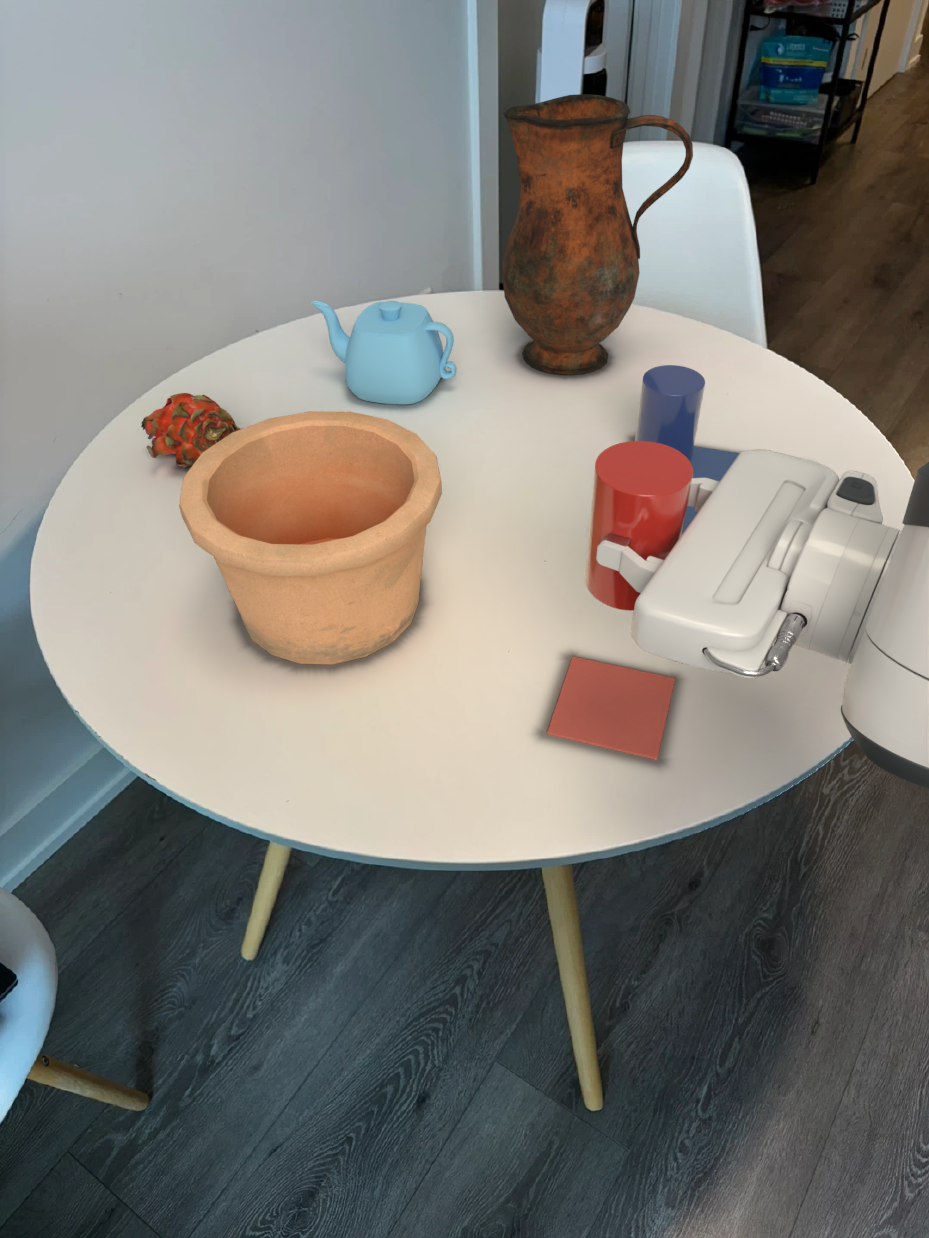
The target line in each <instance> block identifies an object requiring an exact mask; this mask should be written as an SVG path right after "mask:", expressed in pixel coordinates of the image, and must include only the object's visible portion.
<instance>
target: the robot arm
mask: <svg viewBox="0 0 929 1238" xmlns="http://www.w3.org/2000/svg"><path fill="white" fill-rule="evenodd" d="M739 453H740V454H739V455H738V456H737V458H736V459H735V461H734V462H733V463H732V465H731V466H730V468H729V469H728V470H727V472H726V473H725V475H724V476H723V478H722V479H721V480H720V482H719V481H716V480H712V479H709V478H706V477H705V478H692V483H691V489H690V495H689V501H688V506H692V507H696V508H695V511H696V512H698V513H697V514H696V516H695V517H694V519H693V520H692V521H691V523H690V524H689V526H688V527H687V529H686V530H685V531H684V533H683V534H682V536H681V537H680V538H679V540H678V541H677V543H676V544H675V546H674V547H673V548H672V550H671V551H670V553H669V554H668V556H667V557H666V558H665V560H662V559H659V558H656V557H653V556H648V558H647V559H646V560H644V559H643V558H642V557H640V556H639V555H638V554H637V553H635V552H634V551H633V550H632V549H631V548H630V547H631V539H630V538H627V537H623V536H618V535H617V534H614V533H609V534H607V535H606V537H605V538H604V539H603V540H602V542H601V543H600V544H599V545H598V547H597V556H596V559H597V562H598V563H599V564H600V565H603V566H605V567H608V568H611V569H614V570H617V571H619V572H620V574H621V575H622V576H623V577H624V578H625V579H626V580H627V581H628V583H629V584H630V585H631V586H632V587H633V588H634V589H635V590H636V591H637V592H639V593H641V594H640V595H639V597H638V598H637V600H636V603H635V607H634V611H633V612H632V619H631V621H632V622H631V628H630V636H631V638H632V639H633V641H634V643H636V645H637V646H638V647H639V649H641V650H642V651H644V652H646V653H648V654H652V655H653V656H657V657H660V658H663V659H666V660H670V661H672V662H677V663H679V664H683V665H686V666H691V667H695V668H699V669H701V670H702V669H703V670H706V671H707V670H708V671H712V672H716V673H717V672H718V673H724V674H733V675H735V676H738V677H740V678H745V679H750V680H751V679H755V678H758V677H762V676H765V675H768V674H770V673H771V672H779V671H780V670H781V669H782V668H783V667H784V666H785V664H786V663H787V661H788V659H789V654H790V651H791V649H792V648H793V646H794V645H795V646H797V647H800V648H804V649H806V650H809V651H812V652H815V653H818V654H820V655H822V656H826V657H829V658H832V659H834V660H837V661H839V662H843V663H846V664H848V665H850V667H849V669H848V671H847V674H846V677H845V681H844V685H843V692H842V702H841V706H840V713H841V717H842V719H843V722H844V725H845V726H846V729H847V731H848V732H849V735H850V736H851V738H852V739H853V741H854V743H855V744H856V746H857V747H858V748H859V749H860V751H861V752H862V753H863V754H864V755H865V756H866V758H867V759H868V760H869V761H870V762H872V763H873V764H874V765H875V766H877V767H878V768H881V769H882V770H884V771H886V772H888V773H889V774H891V775H893V776H895V777H897V778H900V779H902V780H904V781H907V782H909V783H911V784H914V785H918V786H921V787H923V788H927V789H929V461H928V462H927V463H925V464H924V465H922V466H921V467H919V468H918V469H917V470H916V475H915V478H914V482H913V486H912V487H911V492H910V495H909V498H908V502H907V505H906V509H905V513H904V516H903V519H902V522H901V523H902V524H903V528H902V529H901V530H900V528H899V529H898V528H896V527H892V526H889V525H886V524H883V522H884V516H883V513H882V509H881V503H880V496H879V488H878V482H877V479H876V478H875V477H874V476H872V475H870V474H868V473H864V472H861V471H857V470H847V471H845V472H844V473H843V474H842V475H841V477H839V475H838V474H837V472H836V471H835V470H834V469H832V468H830V467H829V466H826V465H824V464H821V463H818V462H817V461H816V462H815V461H812V460H809V459H805V458H802V457H799V456H795V455H790V454H786V453H783V452H778V451H774V450H770V449H763V448H762V449H761V448H758V449H748V450H742V451H741V452H739ZM763 665H764V667H762V666H763Z"/></svg>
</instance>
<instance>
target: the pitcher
mask: <svg viewBox="0 0 929 1238" xmlns="http://www.w3.org/2000/svg"><path fill="white" fill-rule="evenodd" d="M630 113H631V109H630V106H629V105H628V104H626V103H625V102H624V101H622V100H620V99H616V98H614V97H610V96H605V95H601V94H588V93H580V94H567V95H564V96H559V97H555V98H551V99H548V100H544V101H540V102H537V103H533V104H526V105H524V104H523V105H518V106H512V107H510V108H508V109H506V110H505V111H503V113H502V114H503V116H504V118H505V119H506V122H507V126H508V128H509V132H510V135H511V139H512V143H513V147H514V152H515V156H516V161H517V170H518V178H519V187H520V191H519V192H520V193H519V205H518V211H517V218H516V220H515V222H514V225H513V227H512V229H511V232H510V233H509V236H508V238H507V242H506V248H505V252H504V256H503V260H502V267H501V275H502V284H503V286H502V287H503V294H504V300H505V301H506V304H507V306H508V308H509V311H510V312H511V315H512V317H513V320H514V321H515V322H516V323H517V324H518V326H519V327H520V328H521V329H522V330H523V331H524V332H525V333H526V334H527V335H528V336H529V338H531V339H532V341H531V342H528V343H527V344H526V345H525V347H524V348H523V351H522V358H523V361H524V363H525V364H527V365H528V366H529V367H531V368H532V369H534V370H536V371H539V372H542V373H545V374H548V375H555V376H581V375H586V374H591V373H593V372H595V371H598V370H601V369H602V368H603V367H604V366H606V364H607V363H608V358H609V353H608V351H607V349H606V348H605V347H604V346H603V345H601V344H600V343H602V342H603V341H605V339H607V338H608V337H609V336H610V335H611V334H612V333H614V332H615V330H617V329H618V328H619V326H620V325H621V323H622V322H623V320H624V318H625V317H626V315H627V313H628V312H629V310H630V309H631V306H632V305H633V302H634V300H635V296H636V292H637V287H638V283H639V277H640V259H641V246H640V242H639V237H638V232H637V231H638V223H639V221H640V218H641V217H642V215H643V214H644V213H646V211H647V210H648V209H649V208H650V207H651V206H652V205H653V204H654V203H655V202H657V201H658V200H659V199H661V198H662V196H664V195H666V193H668V192H669V191H670V190H671V189H672V188H673V187H674V186H676V184H678V183H679V182H680V181H681V180H682V179H683V178H684V176H685V175H686V174H687V172H689V171H688V170H689V169H690V168H691V164H692V161H693V158H694V146H693V142H692V139H691V136H690V134H689V133H688V131H687V130H685V128H684V127H683V126H682V125H681V124H679V123H678V122H677V121H676V120H674V119H671V118H668V117H666V116H661V115H656V114H654V115H653V114H645V115H640V116H633V117H629V115H630ZM641 127H655V128H661V129H664V130H666V131H669V132H671V133H673V134H674V135H676V136H677V137H678V138H679V139H680V141H682V144H683V146H684V148H685V157H684V161H683V163H682V164H681V166H680V167H679V169H678V170H677V172H675V173H674V174H673V175H672V176H671V177H670V178H669V179H668V180H667V181H666V182H664V183H663V184H662V185H661V186H659V187H658V188H657V189H656V190H655V191H653V192H652V193H651V194H650V195H649V196H648V197H647V198H646V199H645V200H643V202H642V204H641V205H640V207H639V208H638V209H637V210H636V212H635V216H634V219H633V223H632V220H631V215H630V212H629V208H628V205H627V200H626V196H625V193H624V188H623V151H624V142H625V139H626V134H627V131H628V130H632V129H635V128H641Z"/></svg>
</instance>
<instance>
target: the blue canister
mask: <svg viewBox="0 0 929 1238" xmlns="http://www.w3.org/2000/svg"><path fill="white" fill-rule="evenodd" d="M705 387H706V380H705V377H704V376H703V375H702V374H701V373H700V372H698V371H697V370H695V369H693V368H690V367H687V366H683V365H674V364H666V365H665V364H664V365H659V366H655V367H652V368H650V369H648V370H647V371H645V373H644V374H643V376H642V381H641V390H640V396H639V397H640V398H639V406H638V414H637V422H636V430H635V436H634V441H649V442H656V443H660V444H664V445H667V446H669V447H672V448H674V449H676V450H678V451H679V452H681V453H682V454H684V455H685V456H686V457H687V458H688V460H689V461H690V462H691V461H692V455H693V450H694V446H695V443H696V438H697V434H698V433H697V432H698V427H699V422H700V421H699V420H700V415H701V410H702V405H703V404H702V403H703V399H704V393H705Z"/></svg>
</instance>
